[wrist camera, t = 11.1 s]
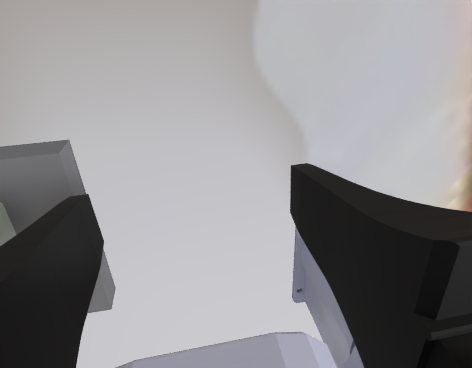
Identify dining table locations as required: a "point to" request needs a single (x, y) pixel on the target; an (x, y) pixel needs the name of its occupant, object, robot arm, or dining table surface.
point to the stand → (46, 195)
